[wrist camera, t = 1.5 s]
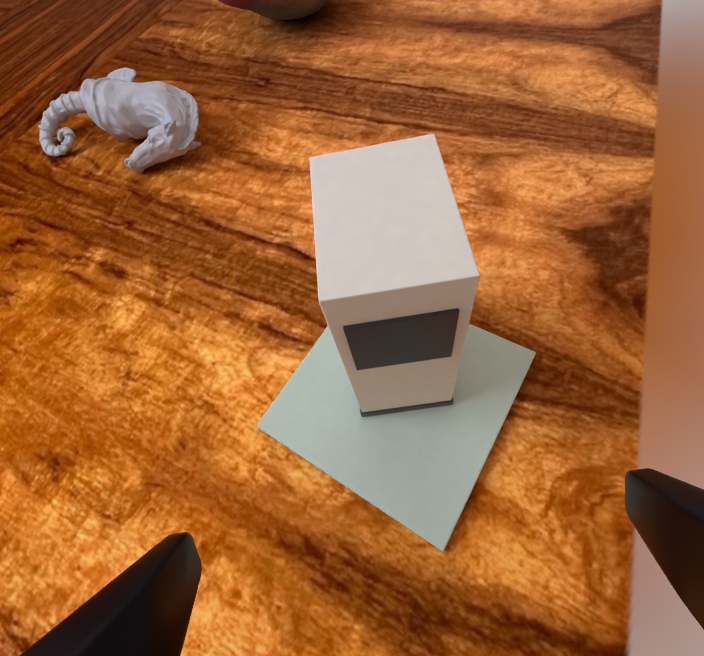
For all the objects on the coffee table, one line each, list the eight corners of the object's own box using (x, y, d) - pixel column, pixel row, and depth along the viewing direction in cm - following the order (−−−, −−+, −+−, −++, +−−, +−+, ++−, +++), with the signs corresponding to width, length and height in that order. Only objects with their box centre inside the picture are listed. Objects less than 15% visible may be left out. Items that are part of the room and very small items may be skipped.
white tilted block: (428, 299, 26) (436, 130, 16) (453, 405, 22) (484, 279, 12) (350, 311, 26) (306, 155, 16) (361, 418, 23) (315, 306, 12)
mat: (534, 355, 24) (536, 352, 23) (442, 551, 19) (443, 551, 19) (363, 281, 28) (362, 277, 28) (258, 428, 24) (255, 425, 23)
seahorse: (5, 178, 39) (175, 139, 33) (21, 74, 40) (184, 18, 35) (58, 203, 43) (214, 172, 37) (70, 108, 45) (221, 65, 39)
